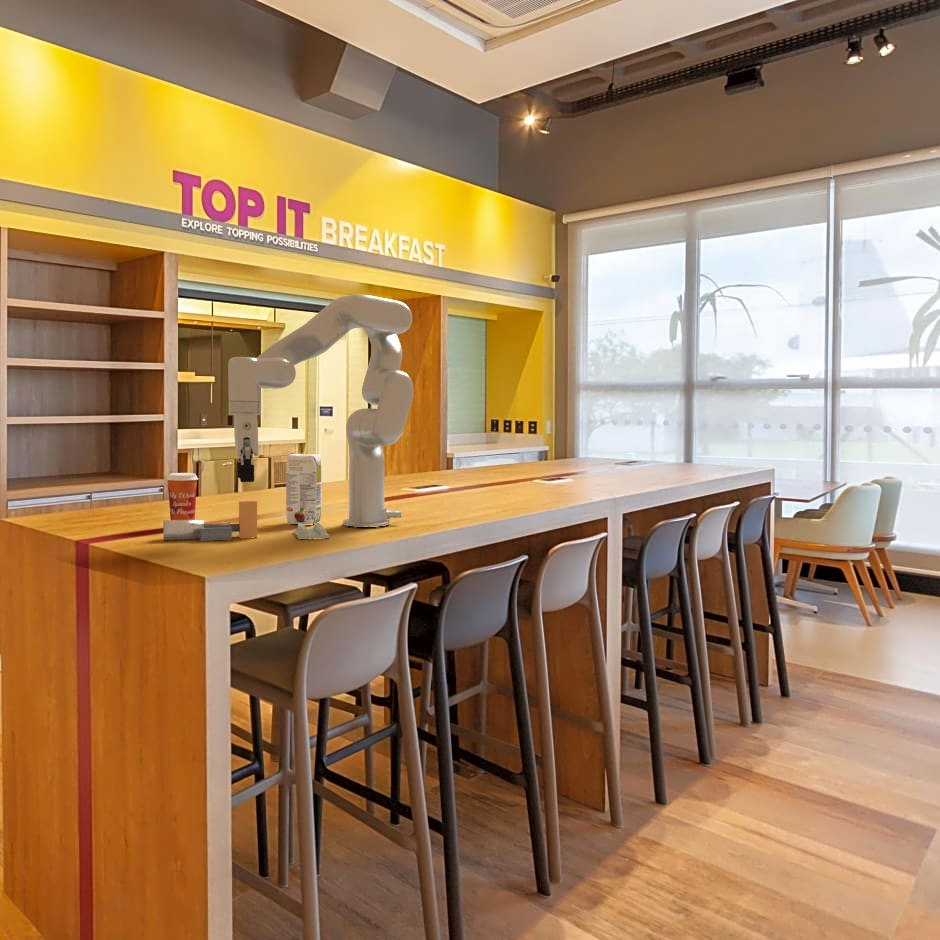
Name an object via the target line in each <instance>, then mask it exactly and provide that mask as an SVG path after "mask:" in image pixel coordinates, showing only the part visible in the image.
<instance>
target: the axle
mask: <svg viewBox="0 0 940 940" xmlns="http://www.w3.org/2000/svg"><path fill="white" fill-rule="evenodd" d="M162 523H163V527H162V528H163V530H162V531H163V533H162V534H163V541H164V540H172V541H190V540H189V539H200V540H201V533H200V528H204V524H205V519H203V518H202V519H201V518H200V519H197V518H196V519H195V520H171V519H168V520H163V522H162Z"/></svg>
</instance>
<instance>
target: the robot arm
mask: <svg viewBox="0 0 940 940" xmlns="http://www.w3.org/2000/svg"><path fill="white" fill-rule="evenodd" d="M412 323H413V314H412V311H411V309H410V307H409V306H407V304H405V303H404V302H402V301H399V300H396V299H395V300H394V299H389V298H384V297H379V296H373V295H369V294H364V293H363V294H361V293H355V294H350V295H343V296H339V297H337V298H335V299H334V300H332V301H331V302H330V303H328V304H327V305H325V307H323V309H321V310H320V311H319V312H318V313H317V314H315V315H314V316H313V317H312V318H310V319H309V320H307V321H306V322H305V323H304V324H303V325H302V326H300V327H299V328H297V329H295V330H294V331H292V332H291V333H289V334H288V335H286V336H285V337H282V338H281V339H279V340H278V341H277V342H275V343H273V344H271V345H270V346H269V347H268V348H266V349H265V350H264V351H262V352H261V354H259V355H258V356H257V357H251V356H234V357H233V356H232V357H231V358H230V359H228V362H227V363H228V364H227V365H228V367H227V369H228V370H227V371H228V376H227V377H228V379H227V380H228V382H227V383H228V416H233V419H234V420H233V428H234V431H233V433H234V447H235V454H236V455H237V463H236V464H237V465H236V466H237V478H238V479H239V481H240V483H254V482H255V464H254V456H255V457H258V456H259V455H260V453H259V426H258V425H259V423H258V416H262V389H275V390H276V389H283V388H287V387H289V386H291V384H293V383H294V381H295V379H296V375H297V372H296V368H295V366H296V365H297V364H300V363H301V362H304V361H307V360H310V359H313V358H316V357H318V356H320V355H322V354H324V353H326V352H327V351H328V350H329V349H330V348H331V347H333V345H335V344H337V342H338V341H339V340H341V339H342V338H343V337H344V336H345V335H347V334H348V333H349V332H350V331H351V330H353V329H360V328H363V331H364V332H365V333H366V335H367V337H368V340H369V342H370V344H371V346H370V347H371V353H370V354H371V355H370V358H369V362H368V365H367V368H366V369H367V370H366V373H365V376H364V379H363V383H362V386H361V387H362V388H361V395H362V398H363V400H364V401H365V402H366V403H368V404H369V405H372V406H377V408H366V407H365V408H360V409H357V410H355V411H353V412H352V413H351V414H350V415H349V416H348V418H347V420H346V425H345V427H346V428H345V429H346V430H345V431H346V439H347V445H348V455H349V462H348V463H349V466H348V469H349V471H348V518H345V519H343V521H342V525H343V524H344V525H343V526H345V525H347V526H346V527H348V526H356V527H355V528H357V527H364V526H383V525H387V524H389V523H390V524H391V522H390V519H391V518H392V519H393V518H394V519H396V518H398V519H399V518H402V511H401V510H389V509H387V508H385V475H386V473H385V468H386V466H385V465H386V463H385V462H386V460H385V455H384V449H383V446H391V445H394V444H396V443H397V442H398V441H399V440H400V438H401V436H402V435H403V432H404V431H405V430H404V429H405V426H406V424H407V420H408V416H409V413H410V410H411V406H412V402H413V398H414V383H413V380H412V379H411V377H410V376H409V374H407V372H404V371H402V370H401V365H402V362H403V361H402V360H403V349H402V348H403V347H402V344H401V342H400V339H399V337H398V335H401V334H404V333H406V332H407V331H408V330H409V329H410V327H412ZM390 524H389V525H390Z"/></svg>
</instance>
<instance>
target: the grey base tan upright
mask: <svg viewBox="0 0 940 940" xmlns="http://www.w3.org/2000/svg"><path fill="white" fill-rule="evenodd" d="M205 524H206V525H205V528H220V527H232V533H238V537H239V536H240V537H239V539H240V538H247V539H253V538H252V537H257V538H258V501H257V499H256V498H254V499H249V498H248V499H247V498H246V499H245V498H244V499H238V523H230V524H210V523H205Z"/></svg>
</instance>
